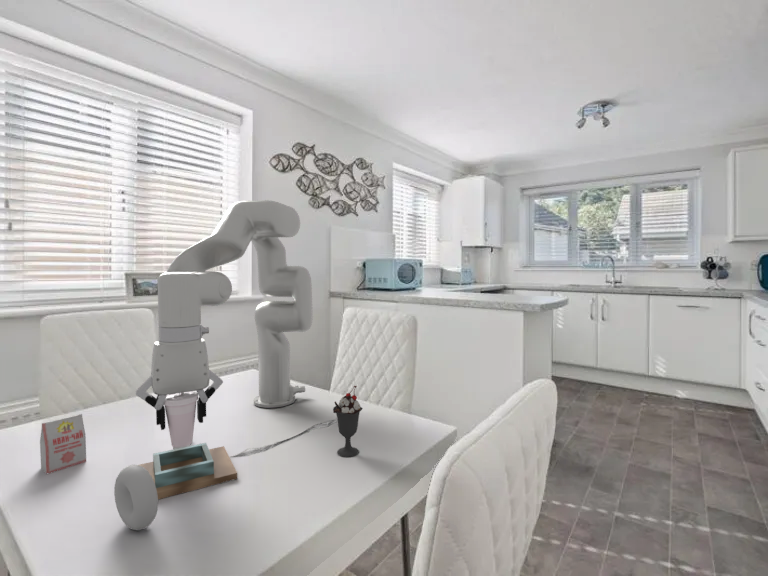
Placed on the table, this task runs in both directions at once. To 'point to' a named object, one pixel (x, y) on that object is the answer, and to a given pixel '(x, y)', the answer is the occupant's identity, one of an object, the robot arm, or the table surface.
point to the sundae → (347, 422)
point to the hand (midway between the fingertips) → (181, 423)
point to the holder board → (189, 469)
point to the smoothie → (181, 417)
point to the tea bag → (62, 443)
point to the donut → (136, 497)
